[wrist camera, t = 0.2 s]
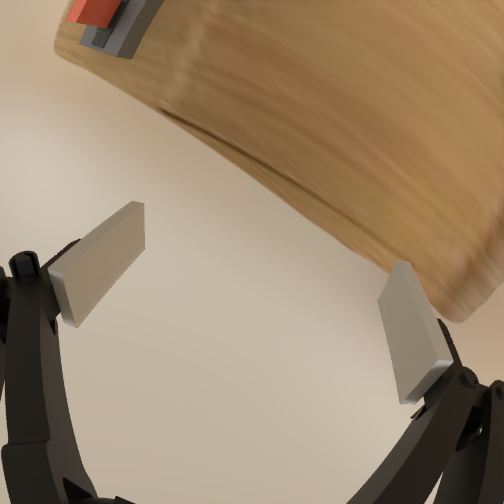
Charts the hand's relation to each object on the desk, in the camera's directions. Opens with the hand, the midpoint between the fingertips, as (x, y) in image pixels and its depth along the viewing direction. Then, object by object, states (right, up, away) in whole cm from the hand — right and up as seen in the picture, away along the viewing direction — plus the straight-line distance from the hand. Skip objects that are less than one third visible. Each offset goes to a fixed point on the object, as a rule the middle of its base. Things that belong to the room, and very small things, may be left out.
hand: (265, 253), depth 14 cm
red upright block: (-21, +34, +13) cm, 42 cm away
